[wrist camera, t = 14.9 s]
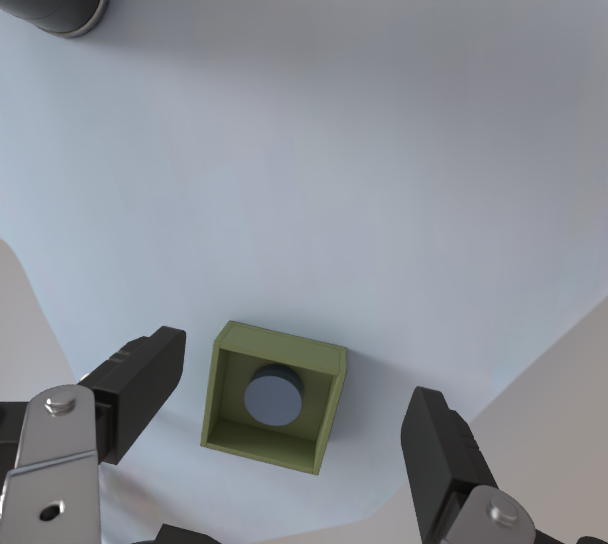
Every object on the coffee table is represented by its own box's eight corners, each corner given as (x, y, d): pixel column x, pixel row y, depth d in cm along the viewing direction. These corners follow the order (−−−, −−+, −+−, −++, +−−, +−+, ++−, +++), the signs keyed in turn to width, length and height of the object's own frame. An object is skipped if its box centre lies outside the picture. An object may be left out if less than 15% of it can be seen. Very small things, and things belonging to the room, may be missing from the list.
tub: (215, 416, 43) (199, 446, 38) (229, 320, 38) (213, 340, 34) (321, 442, 42) (318, 476, 37) (346, 347, 38) (346, 372, 33)
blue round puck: (245, 404, 41) (240, 418, 38) (254, 358, 39) (248, 369, 36) (298, 417, 40) (296, 432, 38) (309, 371, 38) (307, 383, 36)
